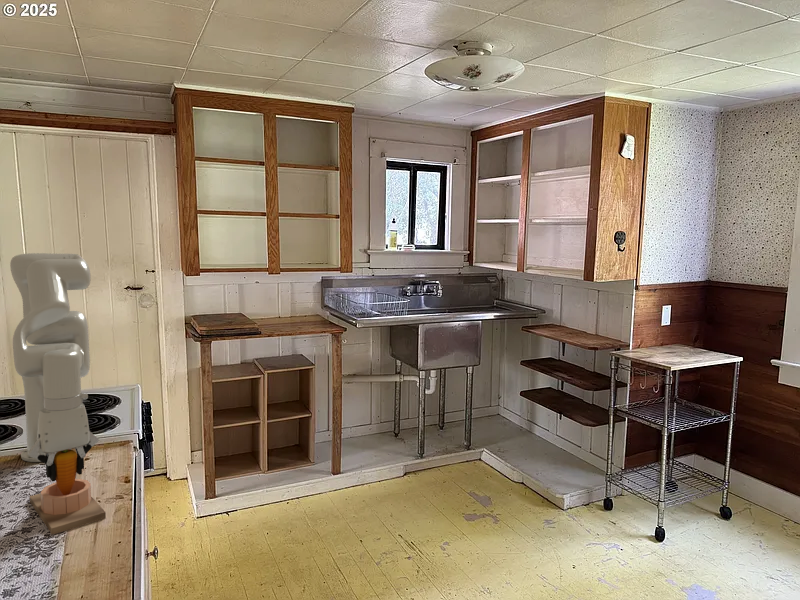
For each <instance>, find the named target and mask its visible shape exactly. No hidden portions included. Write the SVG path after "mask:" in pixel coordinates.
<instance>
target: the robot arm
mask: <svg viewBox="0 0 800 600" xmlns="http://www.w3.org/2000/svg"><path fill="white" fill-rule="evenodd" d="M9 263H10V264H9V265H10V272H11V276H12V278H13V279H12V280H13V281H14V283H15V285H16V287H17V288H18V291H19V293H20V296H21V300H22V317H23V318H22V319H21V320H20V321H19V323H18V324H17V326H16V328H15V329H14V332H13V336H12V351H13V362H14V368H15V371H16V373H17V375H18V376H20V377H21V380H22V383H23V385H22V386H23V392H24V403H25V409H24V410H25V426H26V427H25V428H26V429H25V431H26V448H25V449H24V450H23V451H22V452H21V453H20V457H21V460H23V461H24V462H29V463H44V464H45V476H46V478H47V479H48V478H49V479H50V482H51V483H54V482H56V469H55V464H54V462H53V460H54V456H55V454H56V453H57V452H59V451H64V450H68V449H71V450H73V449H74V451H75V452H76V453H77V472H76V474H77V475H83V470H84V469H85V459H84V458H85V457H86V455H87V454H88V453H89V451H90V450H91V449H92V447H94V446H95V445H97V443H98V442H99V440H100V439H99V438H98V437H97V436H96V435H95V434H93V433H92V431H91V430H90V427H89V418H88V414H87V409H86V407H85V404H84V403H83V402H84V401H85V400H88V398H89V395H88V393H82V385H81V384H82V380H81V378H84V377H86V376H87V375H88V374H89V372H90V368H91V367H90V366H91V364H90V363H91V359H90V358H91V357H90V355H91V354H90V339H89V338H90V337H89V335H90V333H89V326H88V320H87V319H88V318H87V317H86V315H85V314H84V313H83V312H81V311H78V310H71V307H70V302H69V295H68V291H81V290H82V291H83V290H86V289H88V288H89V286H90V284H91V279H92V278H91V276H92V275H91V270H90V267H89V264H88V262H87V261H86V260H85V259H84V258H83V257H82V256H81V255H80V254H77V253H50V252H49V253H48V252H47V253H46V252H45V253H43V252H42V253H39V252H36V253H35V252H32V253H21V254H17V255H15V256H13V257H12V258H11V260H10V262H9ZM27 343H28V344H30V345H27Z"/></svg>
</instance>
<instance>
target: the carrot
mask: <svg viewBox="0 0 800 600" xmlns="http://www.w3.org/2000/svg"><path fill="white" fill-rule="evenodd" d="M53 462H54V464H55V469H56V480H55V482H56V483H57V486H58V488H59V490H60V491H61V493H62V494H63V495H64V496H66V495H69V494H70V492H71V490H72V488H73V485H74V483H75V479H77V478H76V477H77V452H76V450H73V449H68V450H64V451H59V452H57V453H56V454H55V456H54V460H53Z"/></svg>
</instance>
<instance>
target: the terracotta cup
mask: <svg viewBox="0 0 800 600" xmlns="http://www.w3.org/2000/svg"><path fill="white" fill-rule="evenodd" d="M40 493H41V509H42V511H43V512H44V513H47V514H52V515H57V514H66V513H71V512H74V511H77V510H80V509H82V508H83V507H85V506H87V505H88V504H89V503H90V501H91V497H92V484H91V483H90V481H89V480H86V479H82V478H75V483H74V485H73V488H72V490H71V492H70V494H69V495H66V496H64V495H63V494H62V493H61V491H60V490H59V488H58V486H57V483H56V481H54V482H51V484H49V485H47V486H45V487H43V489H42V490H41V491H40Z"/></svg>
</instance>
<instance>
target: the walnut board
mask: <svg viewBox="0 0 800 600" xmlns="http://www.w3.org/2000/svg"><path fill="white" fill-rule="evenodd" d="M29 503H30V504H31V506H32V507H33V509H34V511H36V514H37V515H38V517H39V518H40V519H41V520H42V523H43V524H44V525H45V527H46V528H47V530H48V531H49V533H50V535H52V536H53V535H56V534H60V533H62V532H66V531H69V530H73V529H75V528H78V527H81V526H85V525H88V524H90V523H94V522H97V521H100V520H101V521H102V520H105V519H106V511H105V510H104V508H102V507H101V505H100V504H99V503H98V502H97V501H96V500H95V499H94V498H93V497H92V496H91V501H90V503H89V504H88V505H87V506H85V507H83V508H82V509H80V510H77V511H74V512H71V513H66V514H57V515H52V514H47V513H44V512H43V511H42V509H41V492H40V493H37V494H33V495H29Z"/></svg>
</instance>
